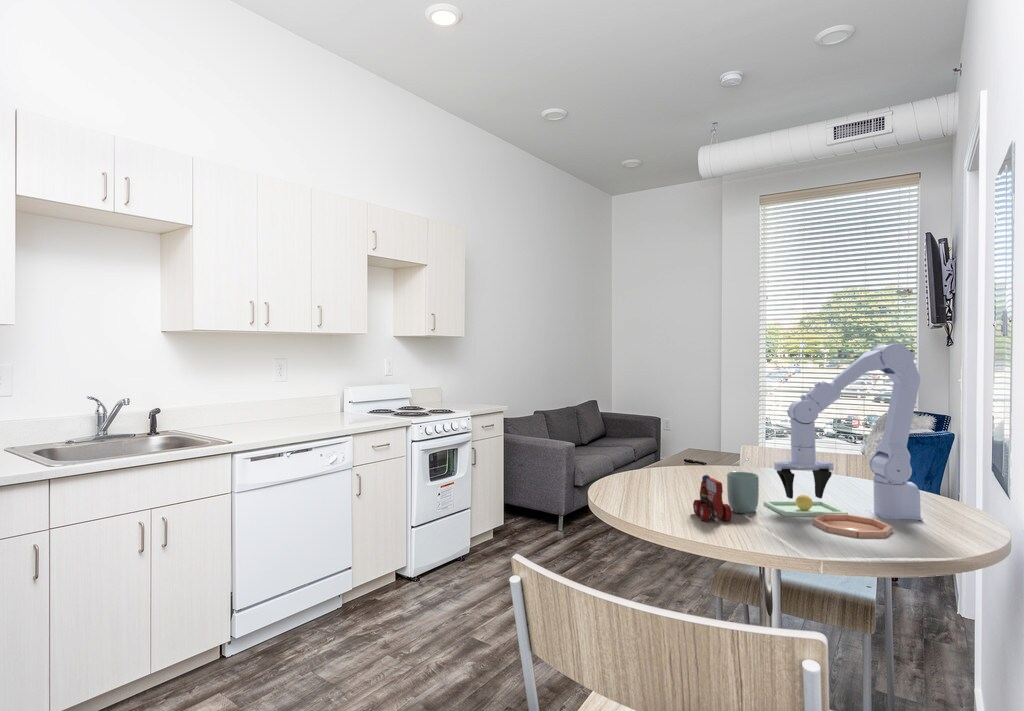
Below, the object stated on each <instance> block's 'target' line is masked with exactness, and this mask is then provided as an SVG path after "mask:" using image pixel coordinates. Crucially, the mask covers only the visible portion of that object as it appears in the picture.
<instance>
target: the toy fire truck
mask: <svg viewBox="0 0 1024 711" xmlns="http://www.w3.org/2000/svg"><path fill="white" fill-rule="evenodd" d="M701 478H702V479H701V483H700V489H699V499H694V500H693V503H692V507H693V512H694V513H693V514H695V516H697V517H698V516H699V518H700V519H701V521H703V522H709V521H710V519H711V517H712V518H721V520H722V521H724V522H729V521H731V519H732V517H733V514H732V513H733V512H732V509H731V508H730V506H729V503H728V504H727V503H724V502H723V492H724V491H723V484H722V482H721V481H719V480H717V479H715V478H713V477H711V476H709V475H708V474H705V475H703V476H702V477H701Z"/></svg>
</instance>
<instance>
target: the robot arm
mask: <svg viewBox="0 0 1024 711" xmlns="http://www.w3.org/2000/svg"><path fill="white" fill-rule="evenodd" d="M873 371H881V372H883V373H884V374H885V375H886V376H888V378H889V379H890V380H891V382H893V386H892V390H891V396H890V399H889V403H888V409H887V416H886V419H885V425H884V430H883V435H882V439H881V442H879V444H878V445H877V446H876V449H875V452H874V454H873V455H872V456H871V458H870V459H869V462H868V464H869V465H868V467H869V468H870V471H871V472H872V473H873V474H874V476H873V478H872V482H873V509H867V510H866V511H867V512H869V513H871V514H874V515H875V516H878V517H881V518H883V519H891V520H893V519H900V520H901V519H903V520H904V519H907V520H909V519H911V520H912V519H914V520H915V521H924V518H923V517H921V516H922V514H921V493H920V490H919V487H918V486H917V484H915V482H914V483H913V482H912V481H908V480H910V478H911V476H912V473H913V469H912V466H911V458H912V456H911V454H910V450H908V442H909V437H910V434H911V433H910V432H911V428H912V423H913V419H914V418H913V417H914V413H915V408H916V402H917V398H918V394H919V387H920V382H921V377H920V374H919V371H918V368H917V366H916V363H915V354H914V353H913V352H912V351H911V350H910V349H908V348H907V347H906V346H905V345H903V344H901V343H890V344H877V345H875V346H873V347H872V348H871V349H870V350H867V351H865V352H864V353H863V354H861V355H860V356H859V357H858V358H856V360H854V361H853V362H852V363H851V364H849V365H848V366H847V367H846V368H845V369H843V370H842V371H841V372H840V373H839V374H838V375H837V376H835V377H834V378H833V379H832V380H831V381H830V380H829V381H828V380H823V381H821V382H820V381H817V382H815V383H814V387H813V388H812V389H811V390H809V391H808V392H807V393H806V394H802V395H800V396H799V398H800V399H799V400H795V401H793V402H791V403H790V404H789V407H788V409H787V411H786V412H787V415H788V417H789V418H790V452H791V453H790V454H791V458H790V460H788V461H774V462H773V467H774V468H773V469H774V471H776V473H777V475H778V477H779V478H780V481H781V482H782V485H783V488H784V491H785V495H786V498H787V499H790V500H791V499H794V479H795V475H796V474H795V473H794V472H792V471H812V476H813V479H814V480H813V481H814V495H815V498H818V499H823V495H824V493H825V490H826V485H827V484H828V482H829V480H830V479H831V477H832V474H833V473H832V471H834V463H833V462H831V461H817V460H816V457H817V455H816V428H815V421H816V420H817V419H818V417H819V413H822V412H823V411H824V410H825V409H827V408H828V407H829V406H831V405H832V404H833V403H835V402H836V401H837V400H839V399H840V398H841V395H842V394H841V393H842V391H843V390H844V389H845V388H847V387H848V386H849V385H851V384H852V383H853V382H855V381H856V380H858V379H859V378H860V377H862V376H863V375H865V374H867V373H868V372H873ZM866 511H865V512H866Z"/></svg>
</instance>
